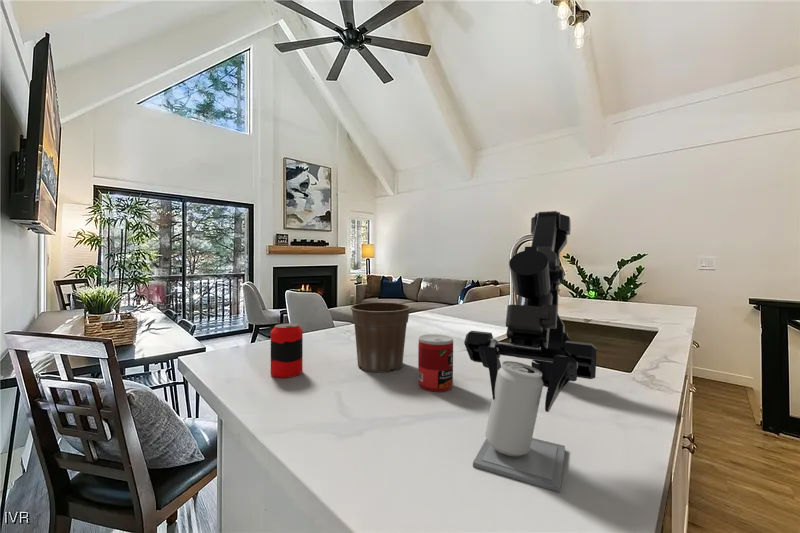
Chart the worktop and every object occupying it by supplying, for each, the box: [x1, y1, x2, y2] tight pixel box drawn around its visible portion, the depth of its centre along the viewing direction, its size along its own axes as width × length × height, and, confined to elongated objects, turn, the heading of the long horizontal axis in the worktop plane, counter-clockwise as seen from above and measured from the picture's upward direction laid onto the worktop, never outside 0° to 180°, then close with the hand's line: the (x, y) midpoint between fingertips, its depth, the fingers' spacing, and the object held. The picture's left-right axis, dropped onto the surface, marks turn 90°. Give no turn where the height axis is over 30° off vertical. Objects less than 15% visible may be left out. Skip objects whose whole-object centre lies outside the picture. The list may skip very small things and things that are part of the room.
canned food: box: [417, 333, 454, 393], centre depth 79 cm, size 8×8×11 cm
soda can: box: [270, 322, 304, 379], centre depth 86 cm, size 8×8×12 cm
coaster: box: [472, 437, 566, 493], centre depth 50 cm, size 11×11×1 cm
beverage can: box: [484, 360, 544, 456], centre depth 51 cm, size 6×6×12 cm
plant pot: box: [350, 302, 412, 373], centre depth 93 cm, size 16×16×16 cm
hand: (519, 405), depth 49 cm, fingers open, 7 cm apart
